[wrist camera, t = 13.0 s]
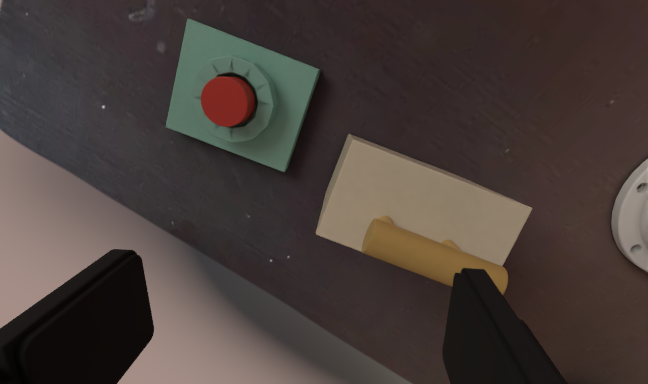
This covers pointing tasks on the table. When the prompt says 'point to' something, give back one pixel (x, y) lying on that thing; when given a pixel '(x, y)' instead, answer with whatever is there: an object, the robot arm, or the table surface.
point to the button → (227, 101)
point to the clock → (418, 215)
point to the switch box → (266, 83)
